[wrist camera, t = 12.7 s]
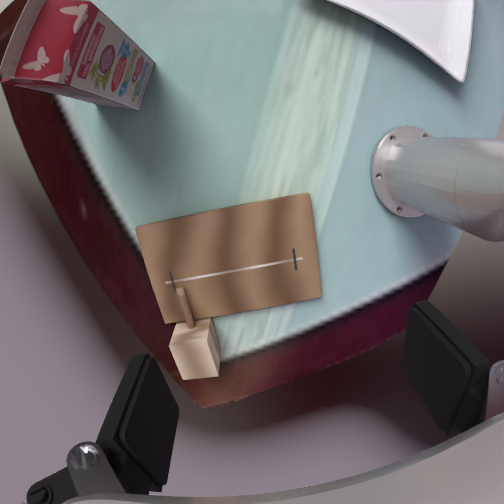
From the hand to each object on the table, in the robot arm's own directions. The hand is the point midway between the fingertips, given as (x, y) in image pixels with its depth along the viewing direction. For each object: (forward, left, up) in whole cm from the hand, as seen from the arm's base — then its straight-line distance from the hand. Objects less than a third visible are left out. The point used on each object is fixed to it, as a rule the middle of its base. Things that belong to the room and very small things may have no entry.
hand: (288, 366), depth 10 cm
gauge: (+11, +13, -28) cm, 33 cm away
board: (+4, +6, -28) cm, 29 cm away
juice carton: (+13, -20, -28) cm, 37 cm away
